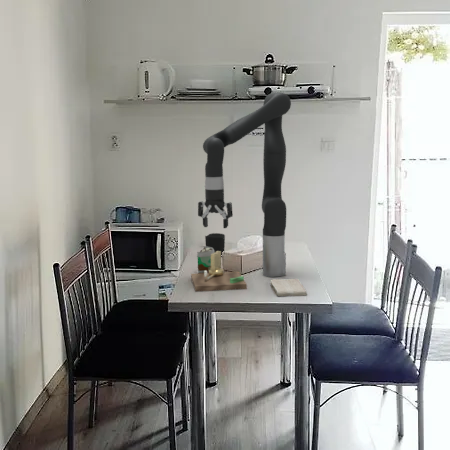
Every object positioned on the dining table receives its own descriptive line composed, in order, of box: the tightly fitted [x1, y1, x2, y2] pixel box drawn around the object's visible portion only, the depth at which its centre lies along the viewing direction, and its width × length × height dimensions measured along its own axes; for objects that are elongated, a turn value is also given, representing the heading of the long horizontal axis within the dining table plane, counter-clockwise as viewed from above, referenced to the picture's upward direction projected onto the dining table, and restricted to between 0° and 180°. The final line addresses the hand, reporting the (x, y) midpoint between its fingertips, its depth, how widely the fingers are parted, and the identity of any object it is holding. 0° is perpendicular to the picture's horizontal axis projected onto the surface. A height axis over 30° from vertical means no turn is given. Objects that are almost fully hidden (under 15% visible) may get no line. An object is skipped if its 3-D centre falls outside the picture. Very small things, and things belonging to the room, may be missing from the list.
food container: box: [196, 245, 214, 274], centre depth 263 cm, size 12×6×10 cm, turn 168°
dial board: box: [190, 271, 248, 292], centre depth 246 cm, size 20×19×4 cm
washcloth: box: [270, 278, 308, 297], centre depth 237 cm, size 12×18×3 cm, turn 6°
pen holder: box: [204, 232, 226, 255], centre depth 294 cm, size 9×9×10 cm
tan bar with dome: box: [204, 251, 224, 281], centre depth 247 cm, size 15×6×9 cm, turn 158°
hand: (215, 227), depth 248 cm, fingers open, 8 cm apart
